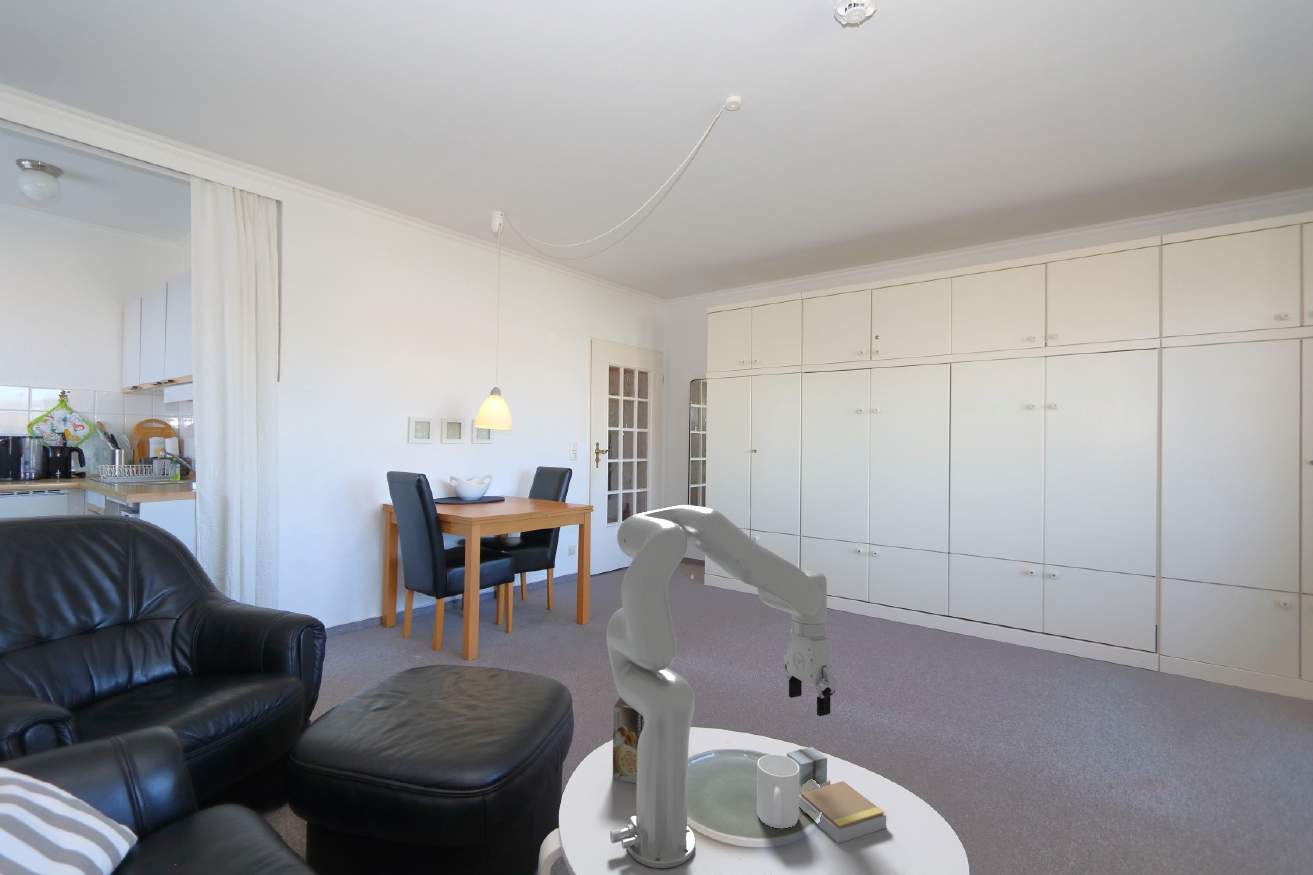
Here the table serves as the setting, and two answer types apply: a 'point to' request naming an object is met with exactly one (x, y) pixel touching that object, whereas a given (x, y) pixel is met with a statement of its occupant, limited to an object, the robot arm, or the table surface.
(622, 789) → the table surface
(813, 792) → the dock
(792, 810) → the mug
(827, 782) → the banded blue box
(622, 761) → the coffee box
